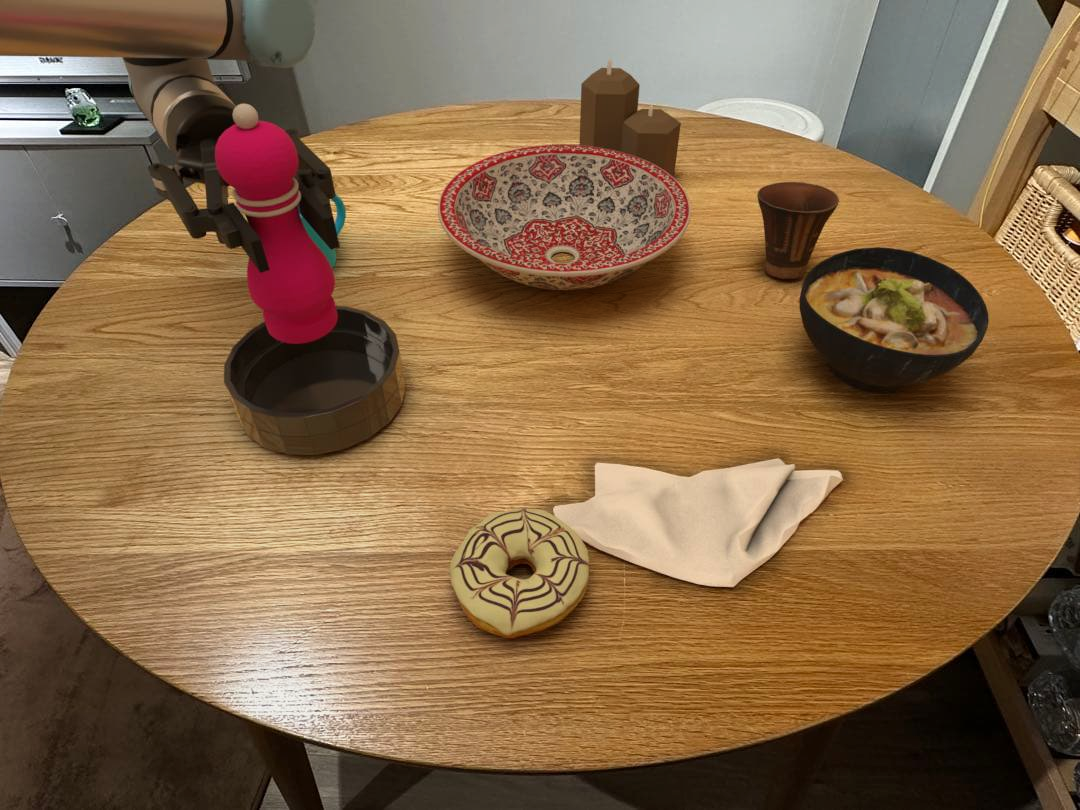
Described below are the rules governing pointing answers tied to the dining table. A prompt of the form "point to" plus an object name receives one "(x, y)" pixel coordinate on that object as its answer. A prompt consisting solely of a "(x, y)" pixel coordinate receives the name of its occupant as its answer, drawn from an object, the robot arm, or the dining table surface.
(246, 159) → the pepper mill
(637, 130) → the candle
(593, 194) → the ceramic bowl
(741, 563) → the cloth
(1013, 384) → the dining table surface
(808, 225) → the cup
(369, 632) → the dining table surface
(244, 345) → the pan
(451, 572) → the decorated donut
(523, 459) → the dining table surface
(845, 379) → the bowl
